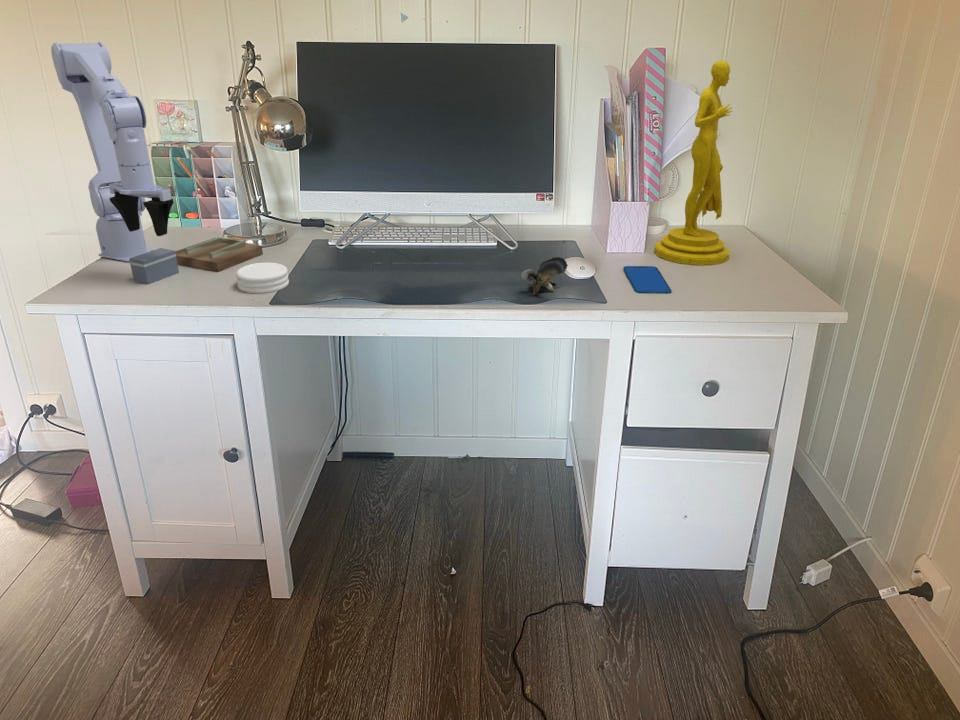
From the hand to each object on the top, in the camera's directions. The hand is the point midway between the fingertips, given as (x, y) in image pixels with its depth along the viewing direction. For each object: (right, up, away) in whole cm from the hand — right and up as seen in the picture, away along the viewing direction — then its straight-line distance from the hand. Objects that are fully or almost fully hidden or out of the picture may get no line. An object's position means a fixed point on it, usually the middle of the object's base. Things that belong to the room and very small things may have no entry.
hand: (148, 232), depth 142 cm
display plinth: (+8, -3, +16) cm, 18 cm away
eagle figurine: (+80, -12, -1) cm, 81 cm away
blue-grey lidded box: (0, -9, +4) cm, 10 cm away
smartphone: (+101, -10, +4) cm, 102 cm away
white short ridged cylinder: (+23, -11, 0) cm, 26 cm away
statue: (+116, -1, +21) cm, 118 cm away
